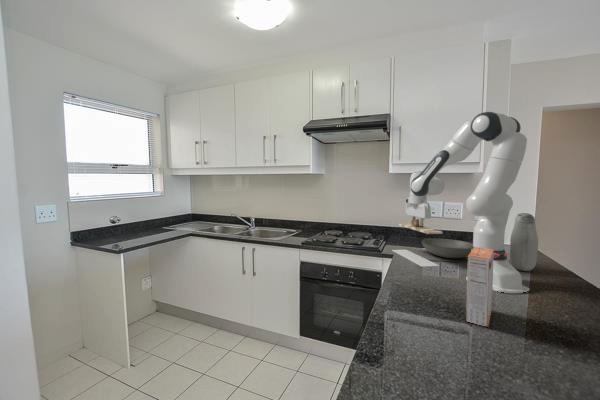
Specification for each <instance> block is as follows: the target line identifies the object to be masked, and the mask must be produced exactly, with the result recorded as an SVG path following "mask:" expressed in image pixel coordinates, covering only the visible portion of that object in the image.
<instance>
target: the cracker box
mask: <svg viewBox="0 0 600 400" xmlns="http://www.w3.org/2000/svg"><path fill="white" fill-rule="evenodd" d="M493 257H494V250H493V249H486V248H479V247H474V248H473V249H472V251H471V253H470V254H469V255H468V256H467V273H466V275H467V276H466V277H467V280H466V281H467V282H466V315H465V316H466V319H465V320H466V321H467V322H470V323H469V324H471V323H474V324H473V325H475V324H477V325H476V326H479V325H482V326H487V327H488V328H489V326H490V325H489V324H490V320H491V317H490V316H492V312H491V311H492V309H493V290H492V289H493ZM467 322H466V323H467ZM482 326H481V327H482Z"/></svg>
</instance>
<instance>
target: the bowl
mask: <svg viewBox="0 0 600 400" xmlns="http://www.w3.org/2000/svg"><path fill="white" fill-rule="evenodd" d="M421 245H422V246H423V247H424V249H425V250H426V251H428V252H429V253H431V254H432V255H435V256H438V257H440V258H445V259H453V260H457V259H464V258H466V257H467V258H468V255H469V254H470V253H471V249H472V246H473V242H472V243H471V242H468V241H463V240H458V239H450V238H449V239H448V238H425V239H422V240H421Z"/></svg>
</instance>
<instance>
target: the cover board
mask: <svg viewBox="0 0 600 400" xmlns="http://www.w3.org/2000/svg"><path fill="white" fill-rule="evenodd" d="M419 221H420V220H419V218H418V219H416V218H415V219H411V222H396V226H400V227H404V228H407V229H410V230H413V231H417V232H420V233H423V234H427V235H436V234H437V235H438V234H439V235H440V234H443V231H442V230H437V229H433V228H430V227H428V226H427V227H426V226H424V224H423V225H422V226H419V225H418V222H419Z"/></svg>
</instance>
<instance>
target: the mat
mask: <svg viewBox="0 0 600 400" xmlns="http://www.w3.org/2000/svg"><path fill="white" fill-rule="evenodd" d="M391 251H392V252H394V253H395V254H397V255H400V256H401V257H403V258H405V259H407V260H409V261H410V262H412V263H414V264H416V265H418V266H419V267H439V266H440V265H439V264H438V263H435V262H433V261H431V260H428V259H427V258H425V257H423V256H420V255H418V254H416V253H414V252H412V251H410V250H408V249H391Z"/></svg>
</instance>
